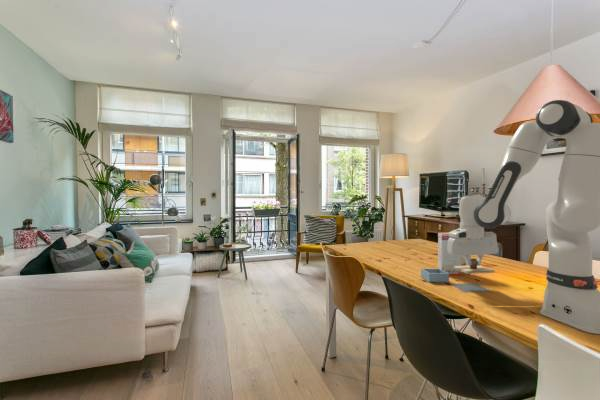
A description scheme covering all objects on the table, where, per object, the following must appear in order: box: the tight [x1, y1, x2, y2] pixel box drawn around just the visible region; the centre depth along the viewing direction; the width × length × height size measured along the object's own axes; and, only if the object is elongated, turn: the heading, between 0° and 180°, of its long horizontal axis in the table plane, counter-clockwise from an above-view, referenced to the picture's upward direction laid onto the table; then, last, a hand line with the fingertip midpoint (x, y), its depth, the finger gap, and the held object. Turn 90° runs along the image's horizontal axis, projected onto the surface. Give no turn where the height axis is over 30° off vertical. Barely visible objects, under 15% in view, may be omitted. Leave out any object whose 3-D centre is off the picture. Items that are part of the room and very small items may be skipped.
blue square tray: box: [420, 268, 450, 284], centre depth 142 cm, size 9×9×4 cm
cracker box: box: [437, 231, 472, 276], centre depth 154 cm, size 14×6×21 cm, turn 85°
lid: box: [454, 257, 496, 275], centre depth 130 cm, size 11×11×5 cm
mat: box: [450, 282, 493, 294], centre depth 131 cm, size 12×12×1 cm
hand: (473, 265), depth 130 cm, fingers closed on lid, 3 cm apart
